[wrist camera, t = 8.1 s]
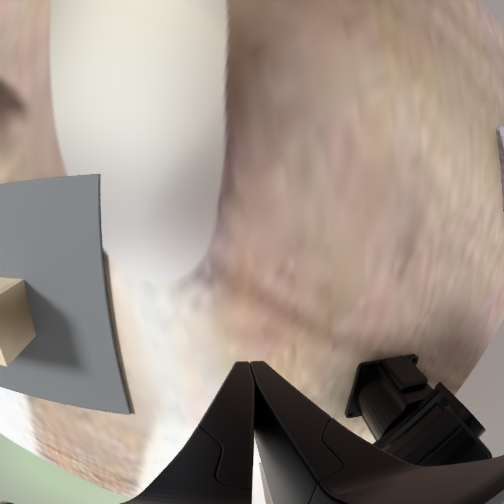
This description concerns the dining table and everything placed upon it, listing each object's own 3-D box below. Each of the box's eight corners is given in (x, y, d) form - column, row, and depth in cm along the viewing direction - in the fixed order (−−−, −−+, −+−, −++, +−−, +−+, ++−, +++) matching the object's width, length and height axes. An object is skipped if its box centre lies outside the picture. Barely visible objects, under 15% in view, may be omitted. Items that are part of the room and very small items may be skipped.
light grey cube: (220, 482, 26) (222, 523, 20) (258, 461, 26) (266, 506, 20) (257, 496, 28) (263, 533, 22) (294, 476, 27) (305, 515, 21)
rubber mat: (130, 411, 22) (129, 414, 22) (-31, 372, 20) (-32, 374, 20) (100, 173, 18) (98, 173, 17) (-70, 197, 15) (-72, 198, 15)
